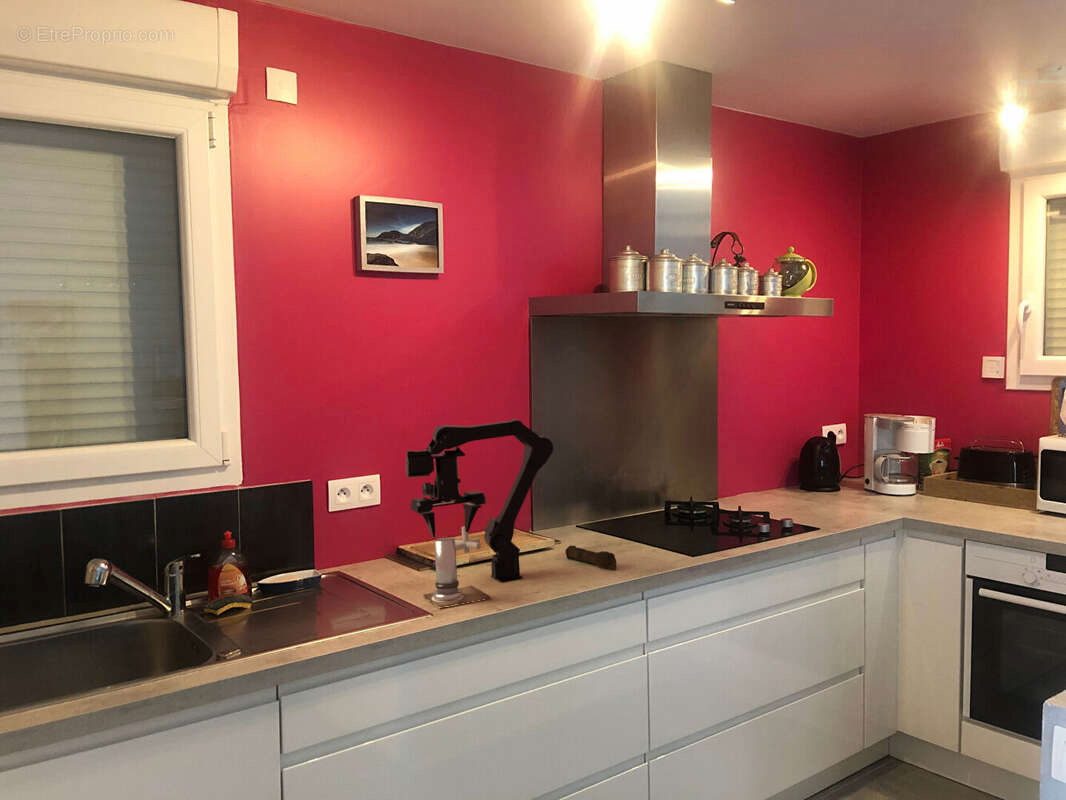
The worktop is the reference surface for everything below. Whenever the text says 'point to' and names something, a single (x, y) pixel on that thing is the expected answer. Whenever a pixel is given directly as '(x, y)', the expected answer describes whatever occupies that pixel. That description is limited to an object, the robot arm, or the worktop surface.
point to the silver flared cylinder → (446, 570)
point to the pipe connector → (467, 542)
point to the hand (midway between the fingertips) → (450, 534)
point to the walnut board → (467, 596)
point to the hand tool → (592, 557)
